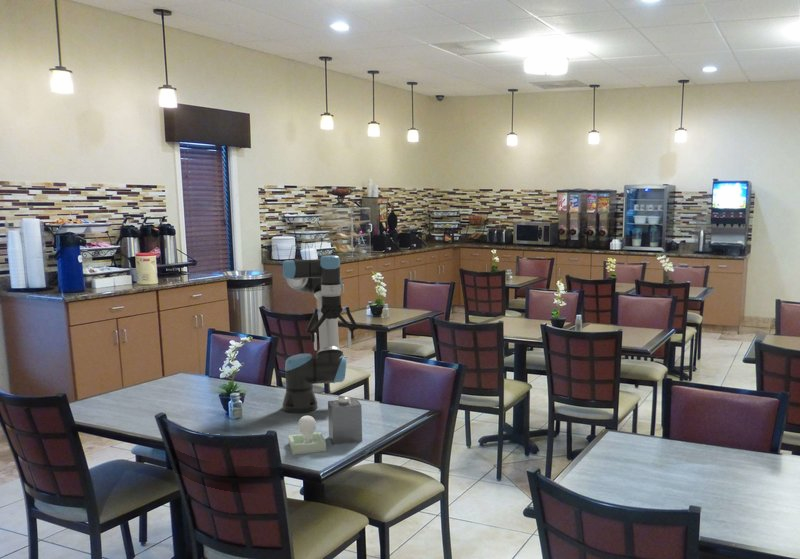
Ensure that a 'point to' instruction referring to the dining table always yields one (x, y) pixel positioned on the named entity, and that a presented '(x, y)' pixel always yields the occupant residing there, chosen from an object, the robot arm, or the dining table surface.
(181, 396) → the dining table surface
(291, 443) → the tray
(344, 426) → the housing
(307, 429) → the light bulb
